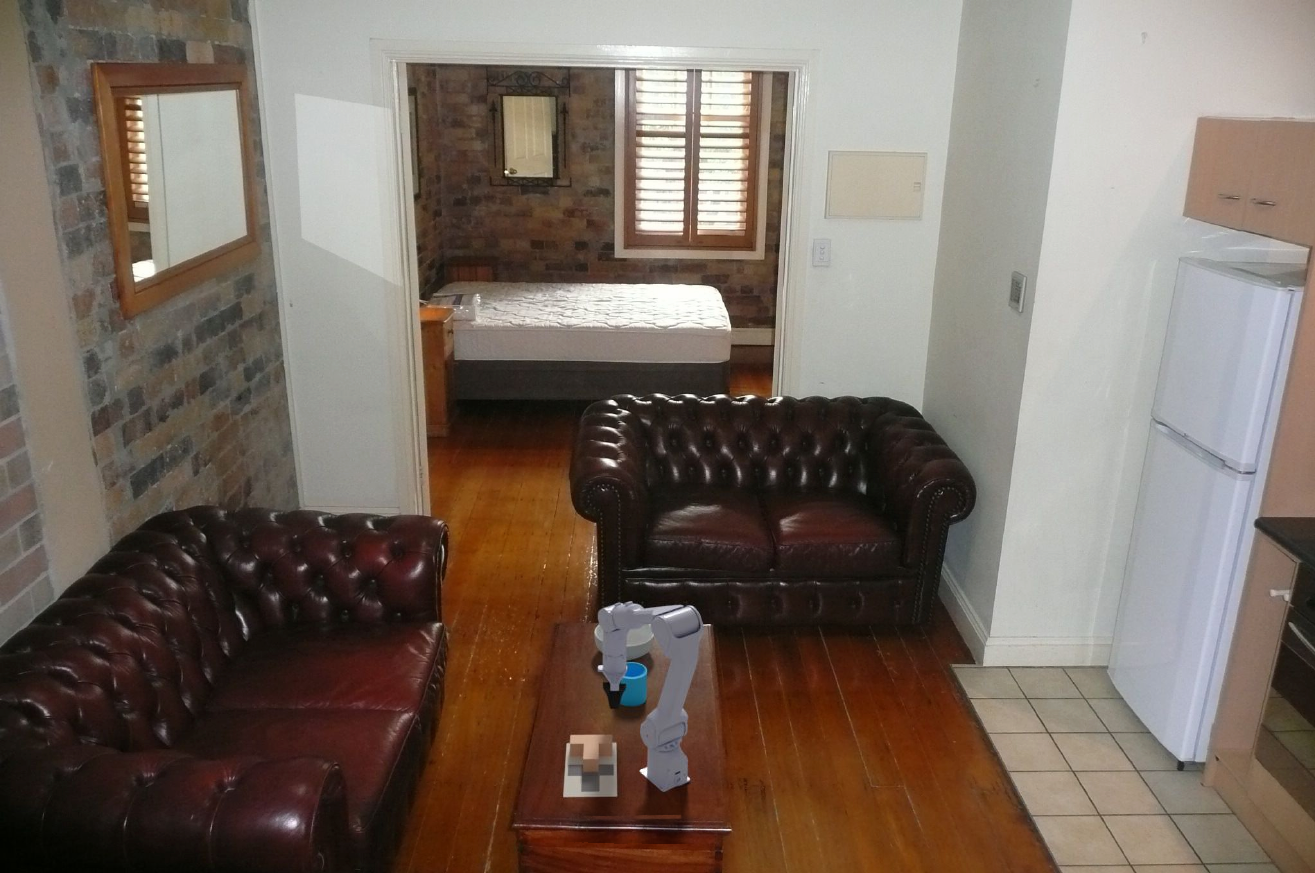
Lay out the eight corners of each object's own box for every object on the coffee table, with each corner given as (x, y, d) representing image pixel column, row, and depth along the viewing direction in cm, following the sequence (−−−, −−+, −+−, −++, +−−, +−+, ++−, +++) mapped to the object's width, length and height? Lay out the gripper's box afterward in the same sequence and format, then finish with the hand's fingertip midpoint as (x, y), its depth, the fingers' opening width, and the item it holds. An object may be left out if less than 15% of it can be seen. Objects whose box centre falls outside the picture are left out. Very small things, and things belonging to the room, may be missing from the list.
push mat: (566, 745, 247) (566, 743, 247) (616, 744, 248) (616, 742, 248) (563, 799, 228) (563, 796, 228) (617, 798, 229) (617, 796, 229)
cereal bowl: (665, 649, 291) (665, 627, 289) (633, 675, 278) (633, 652, 275) (616, 632, 300) (616, 611, 297) (582, 657, 286) (582, 634, 284)
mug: (643, 707, 263) (644, 680, 261) (612, 704, 264) (613, 677, 262) (651, 683, 274) (651, 656, 272) (621, 680, 275) (621, 653, 273)
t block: (570, 747, 245) (570, 734, 244) (612, 746, 246) (612, 734, 245) (569, 772, 236) (569, 759, 235) (612, 771, 237) (612, 758, 236)
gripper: (598, 636, 252) (598, 684, 256) (597, 667, 238) (597, 717, 242) (626, 635, 252) (626, 684, 256) (628, 667, 238) (627, 717, 242)
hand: (614, 700), depth 249 cm, fingers open, 6 cm apart
